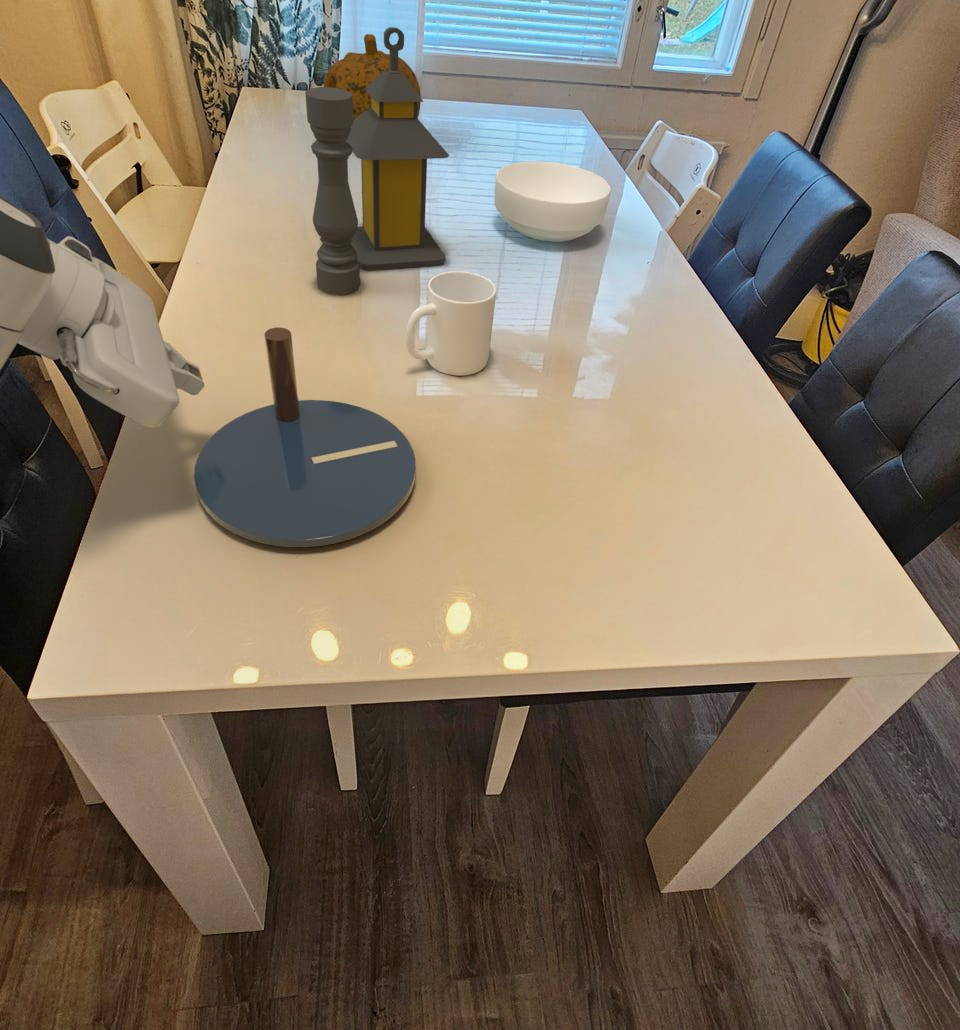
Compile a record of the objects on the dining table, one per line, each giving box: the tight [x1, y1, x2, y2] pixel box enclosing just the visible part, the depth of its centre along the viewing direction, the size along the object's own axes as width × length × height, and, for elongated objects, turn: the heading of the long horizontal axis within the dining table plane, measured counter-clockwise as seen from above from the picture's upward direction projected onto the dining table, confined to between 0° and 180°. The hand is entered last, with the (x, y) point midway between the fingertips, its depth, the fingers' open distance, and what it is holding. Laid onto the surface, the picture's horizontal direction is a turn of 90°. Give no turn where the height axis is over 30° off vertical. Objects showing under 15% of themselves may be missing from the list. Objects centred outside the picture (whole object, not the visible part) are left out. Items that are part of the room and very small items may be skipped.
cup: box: [405, 270, 497, 377], centre depth 88 cm, size 8×12×10 cm
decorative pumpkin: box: [323, 33, 422, 120], centre depth 145 cm, size 20×21×20 cm
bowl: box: [493, 160, 612, 243], centre depth 122 cm, size 20×20×8 cm
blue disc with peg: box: [193, 326, 417, 548], centre depth 69 cm, size 22×22×11 cm
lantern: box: [347, 26, 450, 272], centre depth 104 cm, size 14×14×30 cm
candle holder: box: [304, 86, 361, 296], centre depth 95 cm, size 6×6×25 cm
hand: (198, 382), depth 70 cm, fingers closed
